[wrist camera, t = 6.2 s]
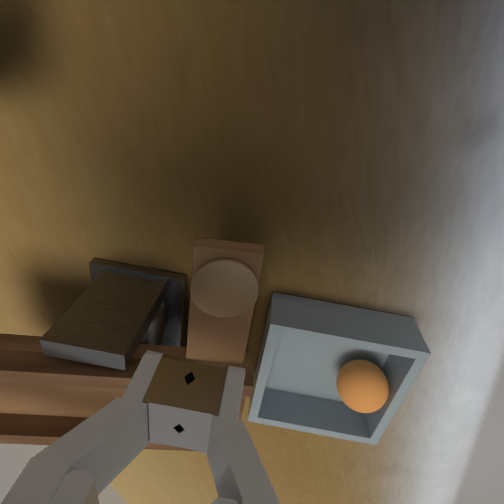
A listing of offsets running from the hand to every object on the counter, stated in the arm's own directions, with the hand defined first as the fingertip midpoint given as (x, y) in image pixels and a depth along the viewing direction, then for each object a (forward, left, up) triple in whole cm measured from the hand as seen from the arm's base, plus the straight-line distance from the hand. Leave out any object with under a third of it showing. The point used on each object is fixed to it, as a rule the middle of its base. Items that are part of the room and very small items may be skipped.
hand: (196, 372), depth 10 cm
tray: (+9, +7, -10) cm, 15 cm away
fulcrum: (+9, -6, -10) cm, 15 cm away
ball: (+9, +9, -8) cm, 15 cm away
